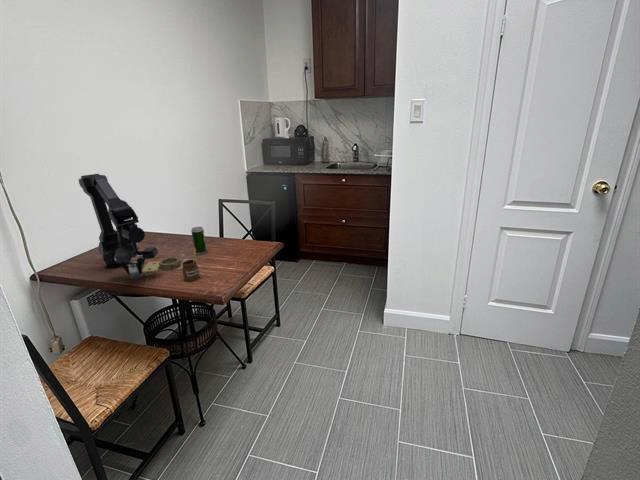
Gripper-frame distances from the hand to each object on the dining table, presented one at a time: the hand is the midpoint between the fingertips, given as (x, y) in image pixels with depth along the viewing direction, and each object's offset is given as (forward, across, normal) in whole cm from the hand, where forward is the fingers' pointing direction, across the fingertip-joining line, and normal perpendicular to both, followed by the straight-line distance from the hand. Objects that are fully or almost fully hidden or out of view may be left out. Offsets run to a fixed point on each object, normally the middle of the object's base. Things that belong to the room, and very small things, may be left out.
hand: (135, 273), depth 138 cm
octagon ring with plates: (+2, +11, +9) cm, 14 cm away
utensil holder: (+2, +23, -5) cm, 24 cm away
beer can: (+2, +21, +23) cm, 31 cm away
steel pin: (+2, 0, 0) cm, 2 cm away
